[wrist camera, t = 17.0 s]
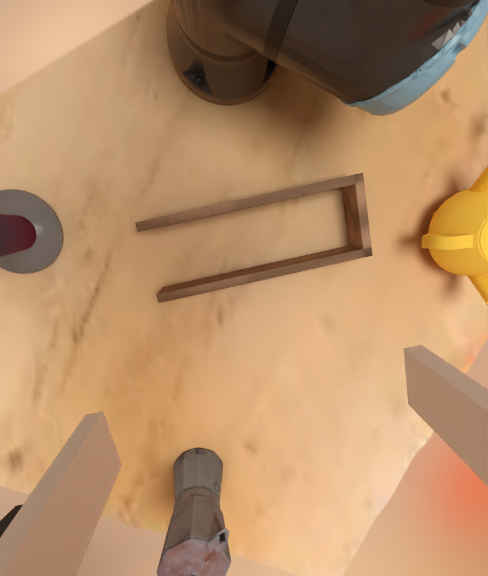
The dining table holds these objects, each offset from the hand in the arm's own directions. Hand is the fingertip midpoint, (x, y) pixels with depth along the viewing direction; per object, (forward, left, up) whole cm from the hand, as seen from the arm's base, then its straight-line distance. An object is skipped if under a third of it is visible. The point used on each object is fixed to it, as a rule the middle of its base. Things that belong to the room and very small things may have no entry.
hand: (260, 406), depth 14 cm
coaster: (-12, -29, -37) cm, 49 cm away
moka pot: (+35, -14, -37) cm, 53 cm away
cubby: (-4, +4, -37) cm, 37 cm away
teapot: (+2, +36, -37) cm, 51 cm away
